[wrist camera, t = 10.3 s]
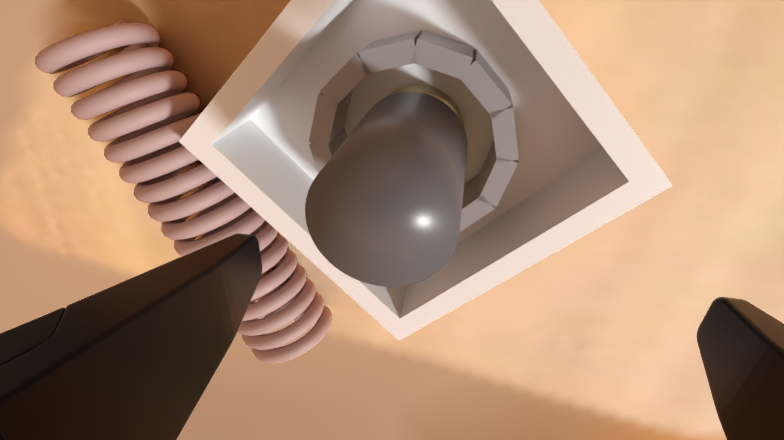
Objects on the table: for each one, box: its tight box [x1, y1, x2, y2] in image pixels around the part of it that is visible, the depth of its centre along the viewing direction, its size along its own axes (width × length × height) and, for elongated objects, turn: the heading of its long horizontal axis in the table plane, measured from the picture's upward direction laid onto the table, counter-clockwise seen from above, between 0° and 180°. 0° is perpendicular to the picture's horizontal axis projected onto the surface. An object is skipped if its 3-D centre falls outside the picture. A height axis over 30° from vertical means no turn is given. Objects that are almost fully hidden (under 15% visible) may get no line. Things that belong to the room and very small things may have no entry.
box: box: [179, 0, 673, 341], centre depth 18 cm, size 13×13×4 cm
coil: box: [35, 18, 332, 363], centre depth 21 cm, size 5×5×18 cm
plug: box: [305, 84, 468, 287], centre depth 16 cm, size 4×4×8 cm
